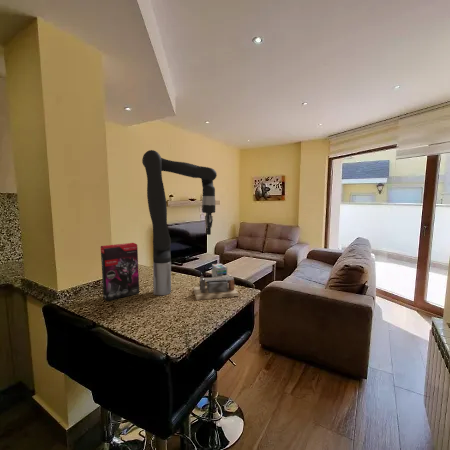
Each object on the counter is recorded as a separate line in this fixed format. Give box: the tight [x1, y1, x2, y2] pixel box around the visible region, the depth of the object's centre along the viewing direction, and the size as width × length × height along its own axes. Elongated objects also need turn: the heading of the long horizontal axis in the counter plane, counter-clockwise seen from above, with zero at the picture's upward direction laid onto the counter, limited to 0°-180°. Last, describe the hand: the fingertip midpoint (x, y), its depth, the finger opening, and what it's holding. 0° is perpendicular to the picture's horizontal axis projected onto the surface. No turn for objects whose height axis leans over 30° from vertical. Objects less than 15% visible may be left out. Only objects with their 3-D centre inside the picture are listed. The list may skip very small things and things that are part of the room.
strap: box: [199, 274, 235, 282], centre depth 136 cm, size 18×4×2 cm, turn 103°
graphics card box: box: [100, 242, 140, 302], centre depth 130 cm, size 17×7×27 cm, turn 132°
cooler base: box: [193, 275, 239, 301], centre depth 136 cm, size 22×14×9 cm, turn 103°
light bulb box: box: [211, 263, 228, 282], centre depth 154 cm, size 11×7×11 cm, turn 22°
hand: (208, 234), depth 144 cm, fingers closed
